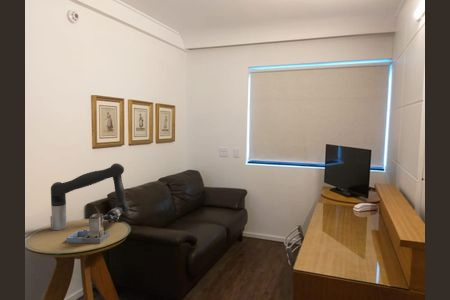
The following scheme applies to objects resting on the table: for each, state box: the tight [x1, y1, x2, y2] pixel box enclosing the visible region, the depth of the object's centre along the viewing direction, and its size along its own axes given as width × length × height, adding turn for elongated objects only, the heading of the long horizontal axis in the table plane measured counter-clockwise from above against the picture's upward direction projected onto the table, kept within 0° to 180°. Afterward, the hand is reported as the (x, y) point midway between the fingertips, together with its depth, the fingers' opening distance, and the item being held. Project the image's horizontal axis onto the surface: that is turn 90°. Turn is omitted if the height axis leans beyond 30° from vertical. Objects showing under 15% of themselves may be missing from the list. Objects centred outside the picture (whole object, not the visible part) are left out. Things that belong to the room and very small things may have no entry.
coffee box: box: [88, 213, 105, 238], centre depth 198 cm, size 9×6×16 cm
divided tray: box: [66, 229, 110, 244], centre depth 198 cm, size 22×13×4 cm, turn 86°
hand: (103, 221), depth 207 cm, fingers open, 8 cm apart
